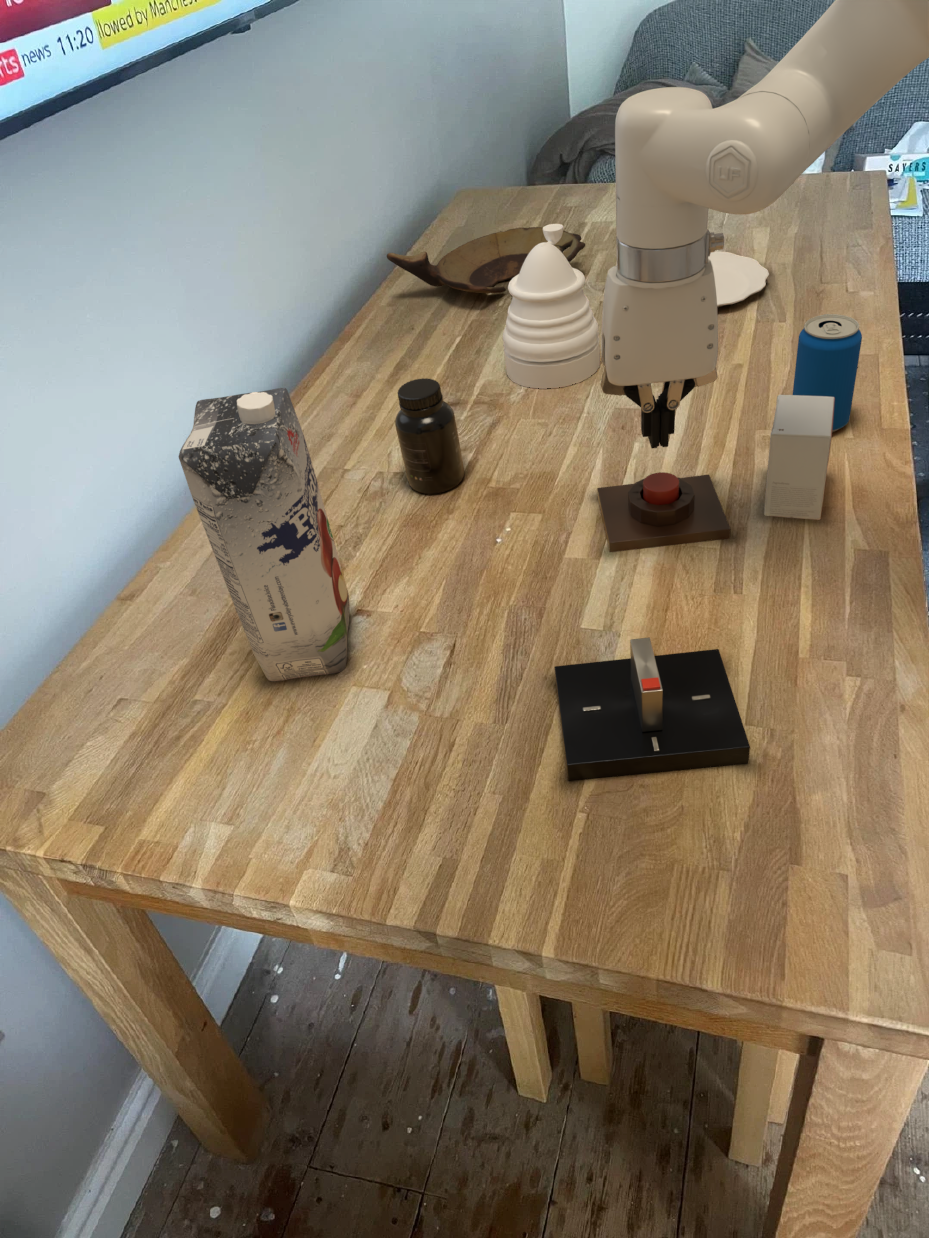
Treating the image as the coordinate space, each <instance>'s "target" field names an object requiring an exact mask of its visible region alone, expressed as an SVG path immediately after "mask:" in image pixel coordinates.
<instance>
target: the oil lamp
mask: <svg viewBox="0 0 929 1238" xmlns="http://www.w3.org/2000/svg"><path fill="white" fill-rule="evenodd" d="M581 240H582V236H581V234H578V233H571V232H569V231H566V230H563V234H562V237H561V239H560V240H559V241H558V242H557V243H556V244H554V246H555V247H557V248H558V249H559V250H560V251H561V252H562V253H563V255H564V256H565V257H566V259H567V260H568V262H569V263H570V262H572V261H573V260H574V259H575V258H576V257H577V255H578V253H579V252H580V251H582V250H583V249H584V248H585V247H586V243H585V242H583V241H581ZM543 242H548V241H547V240H546V238H545V236H544V234H543V227H541V226H536V227H535V226H530V227H515V228H510V229H507V230H504V231H503V230H502V231H501V230H500V231H496V232H492V233H489V234H486V235H482V236H479V237H477V238H475V239H473V240H470V241H467V242H465V243H463V244H462V245H460V246H458V247H456V248H454V249H453V250H451V251H449V252H448V253H446V254H445V255H444V256H443V257H441V259H440V260H439V261H438V263H437V264H436V265H434V264H432V263H431V262H430V259H429V255H428V252H427V251H425V250H424V251H422V252H420V253H417V254H415V255H404V254H398V253H394V252H388V253H387V254H386V258H387V260H388V261H389V262H391V263H392V264H394V265H396V266H397V267H399V268H400V269H402V270H404V271H406V272H407V273H410V274H411V275H413V276H414V277H417V278H418V279H420V280H421V281H422V282H423V283H425V284H428V286H431V287H436V288H439V287H444V286H448V287H450V288H451V289H455V290H459V291H463V292H469V293H477V294H500V293H504V292H506V291H507V289H506V288H505V286H496V287H495V285H496V284H497V283H500V282H504V281H507V280H512V278H513V277H515V276H516V275H518V274H519V273H520V270H521V268H522V265H523V263H524V261H525V259H526V257H527V256H528V254H529V253H530V251H531V250H532V249H533V248H534V247H535V246H536V245H538V244H540V243H543Z"/></svg>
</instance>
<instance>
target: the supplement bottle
mask: <svg viewBox="0 0 929 1238" xmlns="http://www.w3.org/2000/svg"><path fill="white" fill-rule="evenodd" d="M397 398H398V405H399V409H400V410H399V411H398V412H397V414H396V415H395V420H394V424H395V430H396V435H397V439H398V443H399V447H400V452H401V457H402V461H403V466H404V470H405V475H406V479H407V482H408V484H409V486H410V487H411V488H412V489H413V490H414V491H415V492H418V493H421V494H425V495H436V494H442V493H445V492H448V491H450V490H452V489H454V488H456V487H457V486H458V485H459V484H460V483H461V482H462V480H463V478H464V476H465V466H464V460H463V453H462V448H461V443H460V437H459V432H458V426H457V421H456V420H457V419H456V416H455V415H456V414H455V411H454V409H453V407H452V406H451V405H450V404H449V403H447V402H446V401H445V400H444V396H443V393H442V389H441V384H440V383H439V381H437V380H435V379H433V378H427V377H426V378H423V377H422V378H417V379H413V380H410V381H407V382H405V383H403V384H402V385H401V386H400V387H399V389H398V390H397Z"/></svg>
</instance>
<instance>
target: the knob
mask: <svg viewBox="0 0 929 1238" xmlns="http://www.w3.org/2000/svg"><path fill="white" fill-rule="evenodd" d="M629 646H630V647H629V648H630V649H629V653H630V658H631V681H632V686H633V690H634V695H635V700H636V705H637V709H638V714H639V719H640V724H641V729H642V732H646V731H656V730H662V729H663V689H662V685H661V681H660V677H659V673H658V669H657V664H656V660H655V656H656V655H655V652H654V649H653V645H652V640H651V637H640V638H639V637H638V638H631V639H630V640H629Z"/></svg>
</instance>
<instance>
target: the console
mask: <svg viewBox="0 0 929 1238" xmlns="http://www.w3.org/2000/svg"><path fill="white" fill-rule="evenodd" d="M654 656H655V660H656V664H657V669H658V673H659V677H660V681H661V685H662V689H663V729H662V730H656V731H646V732H642V729H641V724H640V719H639V714H638V709H637V705H636V700H635V695H634V690H633V686H632V681H631V657H629V658H621V659H610V660H602V661H592V662H591V661H590V662H584V663H573V664H564V665H555V666H554V677H555V678H554V680H555V686H556V694H557V695H556V696H557V701H558V702H557V703H558V711H559V718H560V727H561V735H562V744H563V751H564V757H565V759H564V760H565V766H566V767H565V768H566V775H567V782H575V781H576V782H577V781H585V780H596V779H606V778H607V779H608V778H618V777H628V776H638V775H648V774H649V775H650V774H659V773H668V772H679V771H680V772H681V771H690V770H700V769H708V768H709V769H710V768H711V769H712V768H722V767H731V766H741V765H749V764H750V763H749V761H750V754H751V753H750V752H751V751H750V750H751V745H750V741H749V740H748V735H747V733H746V730H745V726H744V723H743V719H742V717H741V715H740V711H739V708H738V705H737V702H736V699H735V696H734V693H733V692H734V691H733V689H732V687H731V684H730V680H729V677H728V673H727V670H726V668H725V665H724V664H725V663H724V661H723V657H722V656H721V651H720V649H719V648H714V649H705V650H696V651H687V652H686V651H685V652H677V653H668V654H658V655H654Z"/></svg>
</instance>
